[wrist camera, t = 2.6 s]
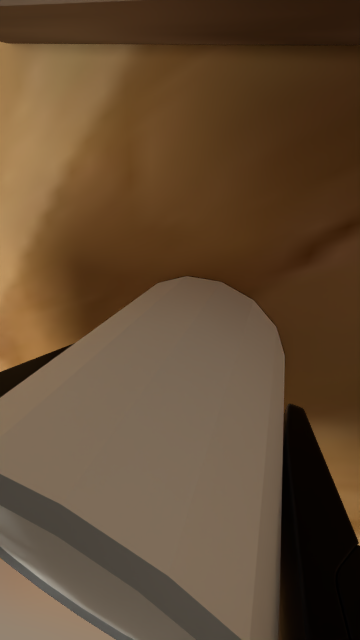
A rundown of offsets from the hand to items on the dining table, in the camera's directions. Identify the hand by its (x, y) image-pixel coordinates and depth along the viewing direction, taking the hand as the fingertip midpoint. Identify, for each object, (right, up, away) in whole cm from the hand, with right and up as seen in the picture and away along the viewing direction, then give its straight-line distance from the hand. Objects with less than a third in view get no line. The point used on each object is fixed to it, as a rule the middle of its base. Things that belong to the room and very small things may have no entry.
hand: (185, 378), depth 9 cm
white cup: (+1, +1, +1) cm, 2 cm away
